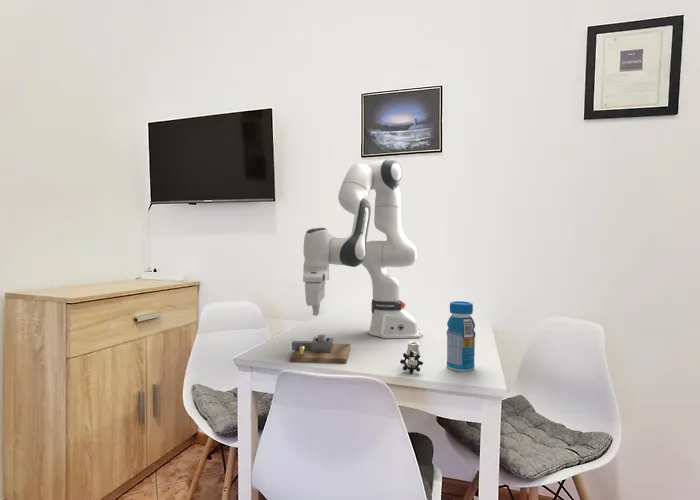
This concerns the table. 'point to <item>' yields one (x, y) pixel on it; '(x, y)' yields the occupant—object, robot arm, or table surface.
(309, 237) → the robot arm
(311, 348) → the square loop paddle
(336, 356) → the base
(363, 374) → the table surface
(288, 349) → the table surface
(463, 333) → the beverage bottle
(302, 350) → the dowel
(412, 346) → the valve
